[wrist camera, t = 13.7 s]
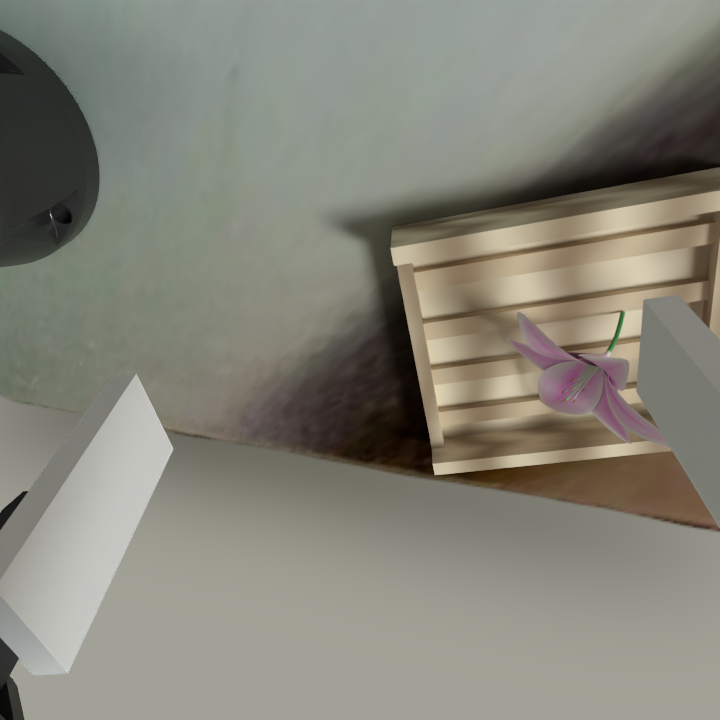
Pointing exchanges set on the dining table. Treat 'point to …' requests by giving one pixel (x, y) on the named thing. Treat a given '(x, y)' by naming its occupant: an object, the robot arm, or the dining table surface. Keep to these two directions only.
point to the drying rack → (548, 309)
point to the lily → (584, 382)
